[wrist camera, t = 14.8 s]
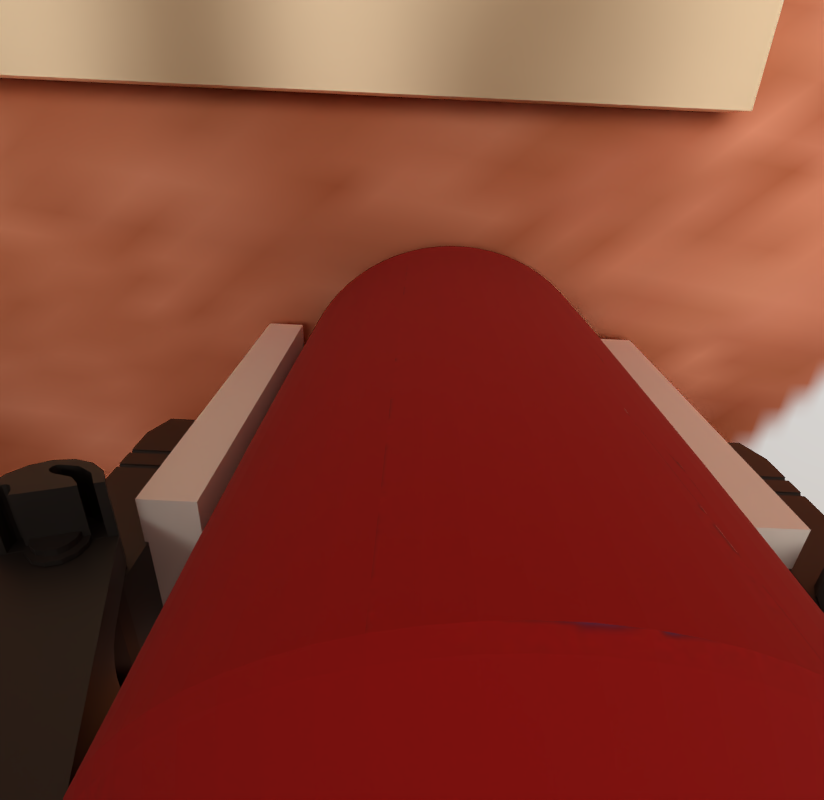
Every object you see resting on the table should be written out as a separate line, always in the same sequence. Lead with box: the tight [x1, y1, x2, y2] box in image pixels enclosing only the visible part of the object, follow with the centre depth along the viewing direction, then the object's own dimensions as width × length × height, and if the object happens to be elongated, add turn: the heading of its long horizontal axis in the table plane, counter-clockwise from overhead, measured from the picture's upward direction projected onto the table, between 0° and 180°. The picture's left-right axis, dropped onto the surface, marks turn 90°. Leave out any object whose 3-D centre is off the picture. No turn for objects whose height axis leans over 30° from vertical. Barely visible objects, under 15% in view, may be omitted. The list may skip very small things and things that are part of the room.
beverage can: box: [63, 246, 824, 800], centre depth 8 cm, size 7×7×12 cm
